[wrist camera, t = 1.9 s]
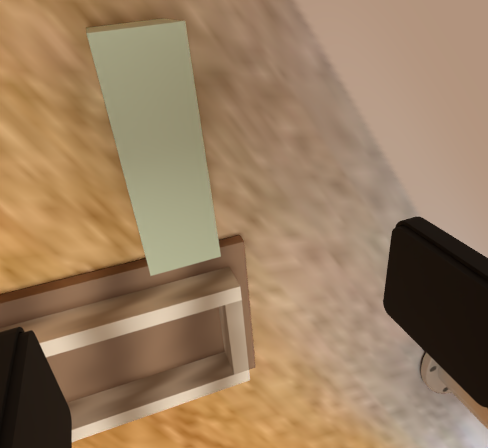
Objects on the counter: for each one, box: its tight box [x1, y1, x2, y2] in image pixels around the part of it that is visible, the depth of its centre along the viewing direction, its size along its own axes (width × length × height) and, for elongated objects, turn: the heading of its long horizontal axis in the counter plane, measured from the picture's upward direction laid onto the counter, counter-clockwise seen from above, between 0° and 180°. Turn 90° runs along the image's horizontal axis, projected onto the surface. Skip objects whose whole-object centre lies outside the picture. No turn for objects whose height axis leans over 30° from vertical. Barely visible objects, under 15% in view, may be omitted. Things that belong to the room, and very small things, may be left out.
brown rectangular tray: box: [0, 235, 255, 442], centre depth 29 cm, size 20×13×4 cm, turn 95°
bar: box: [86, 18, 221, 276], centre depth 22 cm, size 4×12×6 cm, turn 6°
